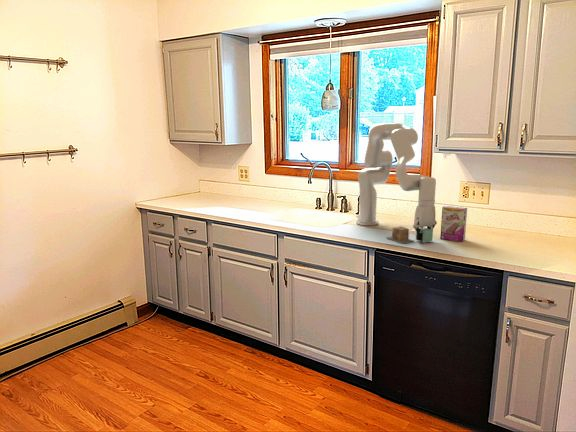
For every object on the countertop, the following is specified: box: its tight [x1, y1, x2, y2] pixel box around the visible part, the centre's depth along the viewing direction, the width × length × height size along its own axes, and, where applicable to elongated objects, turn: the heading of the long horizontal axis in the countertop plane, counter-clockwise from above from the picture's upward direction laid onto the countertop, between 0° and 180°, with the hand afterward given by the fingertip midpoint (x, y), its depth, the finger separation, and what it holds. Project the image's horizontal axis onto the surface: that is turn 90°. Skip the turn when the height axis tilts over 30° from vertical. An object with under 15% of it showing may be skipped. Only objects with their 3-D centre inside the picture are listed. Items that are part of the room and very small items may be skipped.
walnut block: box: [391, 226, 410, 241], centre depth 235 cm, size 6×6×6 cm
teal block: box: [415, 227, 434, 243], centre depth 231 cm, size 6×6×6 cm
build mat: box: [386, 236, 415, 245], centre depth 235 cm, size 12×7×1 cm, turn 30°
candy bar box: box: [439, 205, 468, 243], centre depth 234 cm, size 11×5×16 cm, turn 59°
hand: (424, 239), depth 232 cm, fingers closed on teal block, 5 cm apart
